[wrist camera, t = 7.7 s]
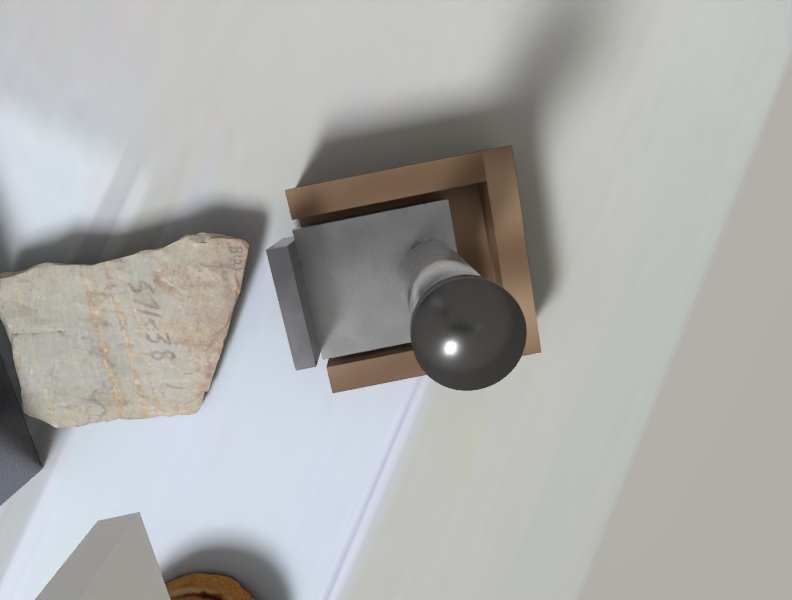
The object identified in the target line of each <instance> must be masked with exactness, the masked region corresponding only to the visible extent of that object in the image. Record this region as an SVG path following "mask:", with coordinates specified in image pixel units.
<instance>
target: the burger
mask: <svg viewBox="0 0 792 600" xmlns="http://www.w3.org/2000/svg"><path fill="white" fill-rule="evenodd" d="M165 586H166V588H167V591H168V594H169V597H170V600H255V599H254V598H253V597H251V595H250V593H249V592H248V591H247V590H245V589H244V588H242V587H241V586H240V583H238V582H237V581H236V580H234V579H232V578H230V577H227V576H221V575H217V574H214V575H211V574H203V573H194V574H189V575H187V576H186V575H184V576H181V577H179V578H177V579H174V580H172V581H170V582H168V583H166V584H165Z"/></svg>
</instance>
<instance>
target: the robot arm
mask: <svg viewBox="0 0 792 600" xmlns="http://www.w3.org/2000/svg"><path fill="white" fill-rule="evenodd" d="M35 600H170V597H169V594H168V591H167V588H166V586H165V583H164V580H163V577H162V574H161V571H160V569H159V566H158V563H157V560H156V557H155V555H154V552H153V549H152V546H151V543H150V541H149V538H148V535H147V532H146V529H145V526H144V524H143V521H142V518H141V515H140V512H138V513H134V514H129V515H124V516H119V517H115V518H110V519H105V520H101V521H97V523H96V524H95V525H94V526H93V528H92V529H91V530H90V531H89V533H88V534H87V535H86V536H85V538H84V539H83V540H82V541H81V543H80V544H79V545H78V546H77V548H76V549H75V550H74V551H73V553H72V554H71V555H70V556H69V558H68V559H67V560H66V561H65V563H64V564H63V565H62V566H61V568H60V569H59V570H58V571H57V573H56V574H55V575H54V576H53V578H52V579H51V580H50V582H49V583H48V584H47V585H46V587H45V588H44V589H43V590H42V592H41V593H40V594H39V595H38V597H37V598H36V599H35Z"/></svg>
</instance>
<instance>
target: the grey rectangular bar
mask: <svg viewBox="0 0 792 600" xmlns="http://www.w3.org/2000/svg"><path fill="white" fill-rule="evenodd" d="M40 470H42V466H41V463H40V461H39V458H38V455H37V453H36V450H35V447H34V444H33V442H32V439H31V436H30V434H29V431H28V428H27V426H26V423H25V420H24V418H23V415H22V412H21V409H20V407H19V404H18V401H17V399H16V396H15V393H14V391H13V388H12V385H11V382H10V380H9V377H8V374H7V372H6V369H5V366H4V364H3V361H2V358H1V356H0V506H1V505H2V504H3V503H4V502H5V501H6V500H7V499H9V498H10V497H11V496H12V495H13V494H14V493H15V492H17V491H18V490H19V489H20V488H21V487H22V486H23V485H25V484H26V483H27V482H28V481H29V480H30V479H31V478H32V477H34V476H35V475H36V474H37V473H38V472H39V471H40Z"/></svg>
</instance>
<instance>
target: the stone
mask: <svg viewBox="0 0 792 600" xmlns="http://www.w3.org/2000/svg"><path fill="white" fill-rule="evenodd" d="M248 252H249V243H248V242H247V241H245V240H243V239H238V238H235V237H232V236H227V235H222V234H217V233H203V232H200V233H197V234H193V235H191V234H187V235H184V236H182V237H181V238H180V239H179V240H178V241H176V242H174V243H172V244H170V245H167V246H165V247H162V248H156V249H149V250H143V251H139V252H137V253H135V254H132V255H129V256H125V257H122V258H118V259H114V260H110V261H106V262H101V263H98V264H95V265H86V264H63V263H52V262H48V261H47V262H45V263H41V264H36V265H34V266H32V267H30V268H28V269H26V270H22V271H18V272H11V271H10V272H4V273H0V320H1V322H2V323H3V325H4V327H5V329H6V333H7V336H8V338H9V340H10V343H11V346H12V353H13V361H14V364H15V369H16V373H17V376H18V380H19V383H20V386H21V399H22V404H21V408H22V409H23V412H24V413H25V414H27V415H29V416H30V417H33V418H36V419H39V420H42V421H44V422H46V423H49V424H50V425H52V426H53V427H56V428H60V427H62V428H67V427H71V426H76V427H79V426H82V425H86V424H90V423H95V422H100V421H106V422H108V421H112V420H115V419H119V418H120V419H144V418H151V417H156V416H174V415H190V414H194V413H196V412H197V411H198V410H199V408H200V406H201V404H202V401H203V398H204V393H206V392H207V391H209V388H210V384H211V381H212V378H213V375H214V372H215V369H216V366H217V363H218V361H219V358H220V355H221V352H222V349H223V346H224V342H225V338H226V336H227V332H228V328H229V325H230V321H231V317H232V313H233V309H234V306H235V305H236V303H237V299H238V296H239V294H240V290H241V285H242V280H243V276H244V272H245V267H246V262H247V257H248Z"/></svg>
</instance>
